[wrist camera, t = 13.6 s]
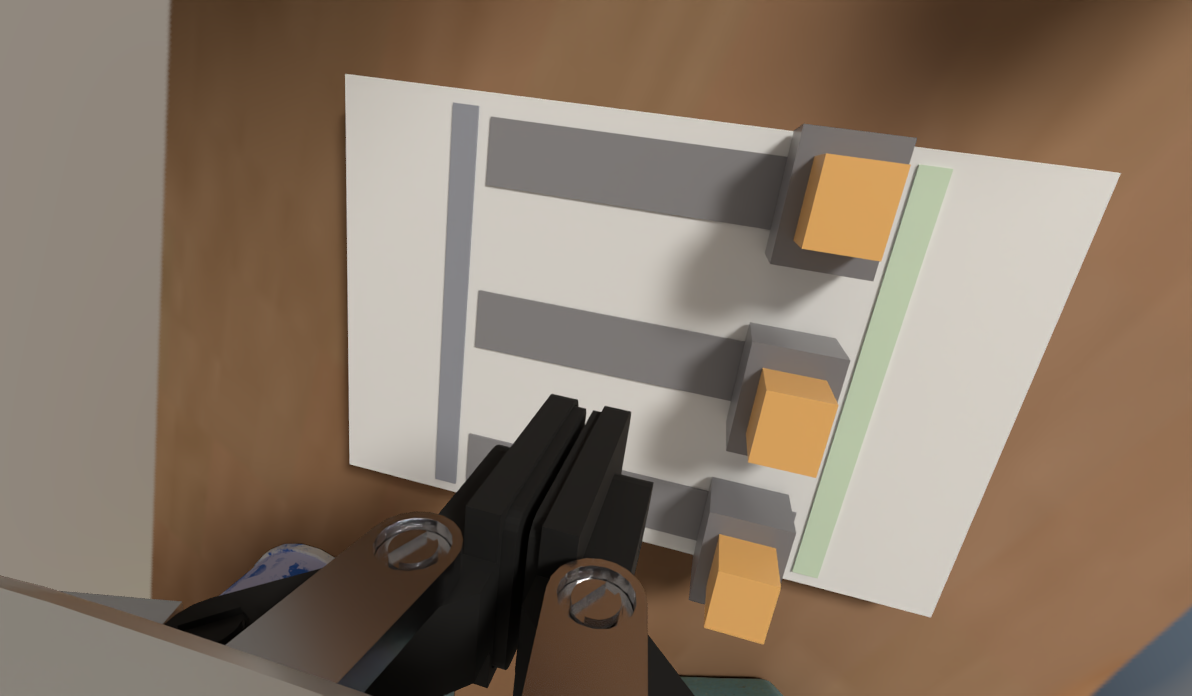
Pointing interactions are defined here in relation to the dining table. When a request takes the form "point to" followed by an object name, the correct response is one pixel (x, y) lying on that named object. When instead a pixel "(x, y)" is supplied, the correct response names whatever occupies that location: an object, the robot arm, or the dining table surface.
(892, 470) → the panel
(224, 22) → the dining table surface
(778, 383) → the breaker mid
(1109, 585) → the dining table surface
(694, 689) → the flower pot
